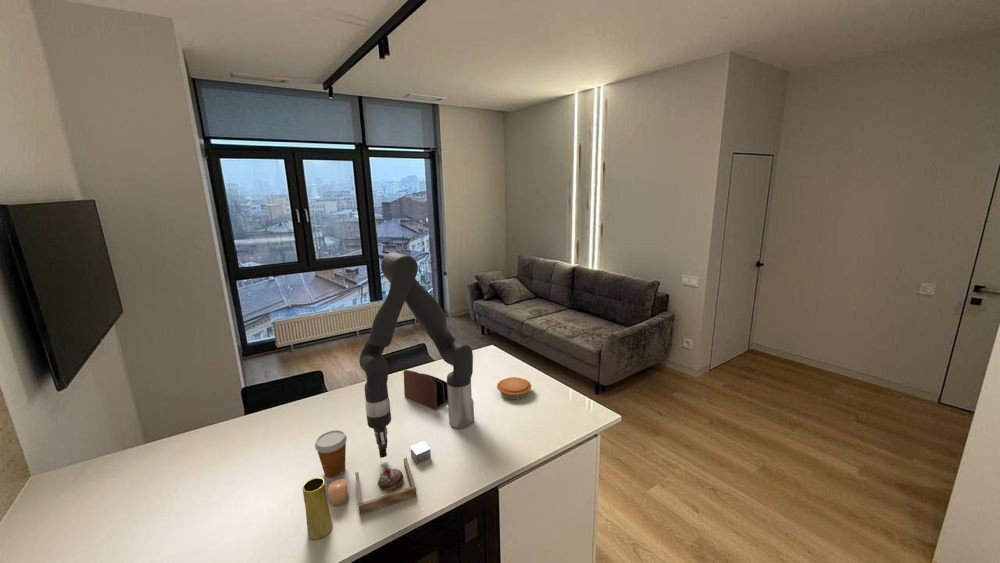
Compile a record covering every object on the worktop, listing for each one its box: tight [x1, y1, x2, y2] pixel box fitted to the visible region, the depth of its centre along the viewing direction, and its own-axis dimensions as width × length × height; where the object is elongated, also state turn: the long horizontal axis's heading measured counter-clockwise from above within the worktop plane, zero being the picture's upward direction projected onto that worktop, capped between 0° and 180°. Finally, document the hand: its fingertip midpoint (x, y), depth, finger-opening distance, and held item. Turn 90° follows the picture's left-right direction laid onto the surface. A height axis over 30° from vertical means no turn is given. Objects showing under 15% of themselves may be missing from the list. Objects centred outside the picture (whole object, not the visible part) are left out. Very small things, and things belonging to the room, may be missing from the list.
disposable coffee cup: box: [314, 429, 348, 478], centre depth 122 cm, size 10×10×12 cm
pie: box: [496, 376, 532, 400], centre depth 169 cm, size 15×16×5 cm
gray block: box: [409, 441, 432, 465], centre depth 128 cm, size 5×5×4 cm
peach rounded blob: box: [328, 478, 349, 508], centre depth 111 cm, size 5×5×5 cm
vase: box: [301, 477, 334, 540], centre depth 100 cm, size 6×6×14 cm
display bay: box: [354, 457, 417, 516], centre depth 115 cm, size 16×14×3 cm
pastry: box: [377, 467, 404, 492], centre depth 117 cm, size 8×8×5 cm
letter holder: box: [403, 369, 448, 411], centre depth 165 cm, size 10×20×14 cm, turn 55°
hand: (383, 455), depth 127 cm, fingers closed
